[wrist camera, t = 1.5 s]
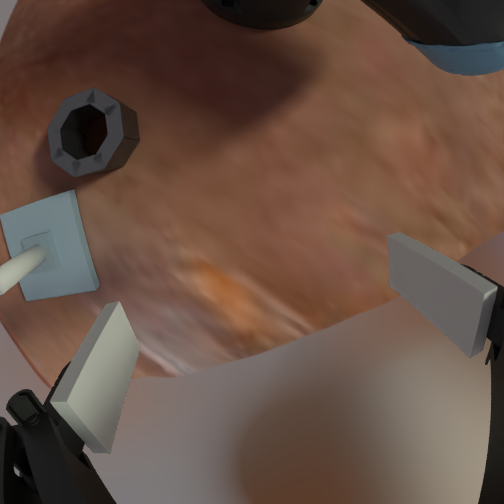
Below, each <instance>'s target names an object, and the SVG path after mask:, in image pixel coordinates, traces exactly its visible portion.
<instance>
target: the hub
mask: <svg viewBox="0 0 504 504" xmlns="http://www.w3.org/2000/svg"><path fill="white" fill-rule="evenodd" d="M103 114H105V116H106V124H107V132H108V135H107V137H106V139H105V140H104V142H103V144H102V145H101V147H100V148H99V150H98V152H97V154H96V155H93V154H91V153H90V152H88V151H87V149H86V142H85V134H84V133H85V131H86V130H87V128H88V126H89V125H90V123H91V121H92V120H93V118H94V117H97V116H100V115H103ZM47 131H48V140H49V148H50V156H51V160H52V162H54V163H55V164H56V165H58V166H59V167H60V168H62V169H63V170H65V171H66V172H67V173H69V174H70V175H71V176H73V177H80V176H85V175H91V174H97V173H101V172H105V171H108V170H112V169H115V168H119V167H123V166H124V165H125V163H126V162H127V160H128V158H129V157H130V155H131V154H132V152H133V151H134V149H135V148H136V146H137V145H138V143H139V142H140V141H139V140H140V137H139V130H138V123H137V116H136V112H135V111H133V110H132V109H130V108H129V107H127V106H125V105H124V104H122V103H121V102H119V101H117V100H116V99H114V98H112V97H111V96H109V95H107V94H105V93H104V92H102V91H100V90H98V89H96V88H91V89H88V90H86V91H83V92H80V93H78V94H75V95H72V96H70V97H67V98H65V99H64V100H63V102H62V104H61V105H60V107H59V109H58V110H57V112H56V114H55V116H54V117H53V119H52V121H51V123H50V124H49V126H48V129H47Z"/></svg>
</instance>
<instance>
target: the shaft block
mask: <svg viewBox="0 0 504 504" xmlns="http://www.w3.org/2000/svg"><path fill="white" fill-rule="evenodd" d="M0 218H1V223H2V227H3V231H4V235H5V238H6V242H7V246H8V249H9V253H10V256H11V260H9V261H8V262H6V263H5V264H3V265H2V266H0V295H2V294H4V293H5V292H6V291H7V290H9V289H10V288H11V287H12V286H14V285H15V284H16V283H17V282H19V283H20V286H21V289H22V291H23V294H24V296H25V299H26V301H32V300H38V299H45V298H51V297H57V296H64V295H70V294H76V293H82V292H88V291H95V290H96V289H97V288H98V287H99V286H100V284H99V281H98V278H97V275H96V272H95V268H94V265H93V262H92V258H91V255H90V251H89V248H88V244H87V241H86V237H85V233H84V229H83V225H82V221H81V217H80V213H79V208H78V204H77V199H76V194H75V189H74V190H70V191H67V192H63V193H60V194H57V195H54V196H51V197H48V198H45V199H42V200H39V201H37V202H34V203H31V204H28V205H25V206H23V207H20V208H17V209H15V210H12V211H10V212H7V213H4V214H2V215H0Z"/></svg>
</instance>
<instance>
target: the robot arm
mask: <svg viewBox="0 0 504 504" xmlns="http://www.w3.org/2000/svg"><path fill="white" fill-rule="evenodd" d="M322 1H323V0H203V2H204V3H205V4H206V5H207V7H208V8H209V9H211V10H212V11H213V12H214V13H216V14H217V15H218V16H220V17H222V18H224V19H226V20H228V21H230V22H232V23H235V24H238V25H242V26H246V27H251V28H258V29H277V28H284V27H289V26H292V25H295V24H298V23H300V22H302V21H304V20H306V19H307V18H309V17H310V16H311V15H312V14H313V13H314V12H315V11H316V9H317V8H318V7H319V6H320V4H321V3H322ZM361 1H362V2H363V3H365V4H366V5H367V6H368V7H370V8H371V9H372V10H374V11H375V12H376V13H377V14H379V15H380V16H381V17H382V18H383V19H385V20H386V21H387V22H388V23H389V24H390V25H392V26H393V27H394V28H395V29H396V30H397V31H398V32H399V33H401V34H402V37H403V39H404V40H405V41H406V42H408V43H409V44H411V45H413V46H415V47H416V48H417V49H418V50H419V51H420V52H421V53H422V54H423V55H424V56H426V57H427V58H428V59H429V60H430V61H431V62H432V63H433V64H434V65H435V66H437V67H438V68H440V69H442V70H444V71H446V72H449V73H453V74H460V75H465V76H474V75H483V74H489V73H493V72H497V71H500V70H503V69H504V0H361ZM388 252H389V286H391V287H392V288H393V289H394V290H395V291H396V292H398V293H399V294H400V295H401V296H402V297H403V298H404V299H406V300H407V301H408V302H409V303H410V304H411V305H413V306H414V307H415V308H416V309H417V310H418V311H419V312H420V313H422V314H423V315H424V316H425V317H426V318H427V319H428V320H429V321H430V322H432V323H433V324H434V325H435V326H436V327H437V328H438V329H439V330H440V331H441V332H442V333H443V334H445V335H446V336H447V337H448V338H449V339H450V340H451V341H452V342H453V343H454V344H455V345H456V346H457V347H459V349H460V350H462V351H463V352H464V353H465V354H466V355H467V356H468V357H469V358H471V357H472V356H474V355H476V354H477V353H479V352H481V351H482V350H483V347H484V344H485V340H486V337H487V338H488V339H489V340H491V341H492V342H491V346H490V349H489V352H488V355H487V358H486V362H485V365H487V364H488V361H489V360H490V362H491V421H490V435H489V444H488V453H487V460H486V467H485V474H484V479H483V484H482V489H481V493H480V498H479V502H478V504H504V287H503V286H501V285H499V284H498V283H496V282H495V281H493V280H491V279H490V278H488V277H486V276H483V274H481V273H479V272H477V271H476V270H474V269H473V268H471V267H469V266H466V265H462V264H459V263H457V262H455V261H453V260H452V259H450V258H448V257H446V256H444V255H443V254H441V253H439V252H437V251H435V250H433V249H432V248H430V247H428V246H426V245H424V244H422V243H420V242H418V241H416V240H415V239H413V238H411V237H409V236H407V235H405V234H403V233H401V232H399V233H395V234H391V235H388ZM140 348H141V347H140V345H139V343H138V341H137V339H136V337H135V334H134V332H133V330H132V328H131V326H130V324H129V321H128V319H127V317H126V315H125V313H124V310H123V308H122V306H121V303H120V301H117V302H113V303H108V304H106V305H105V307H104V308H103V310H102V311H101V313H100V314H99V316H98V318H97V319H96V321H95V322H94V324H93V326H92V327H91V329H90V331H89V332H88V334H87V335H86V337H85V339H84V340H83V342H82V344H81V345H80V347H79V349H78V351H77V352H76V354H75V356H74V358H73V359H72V361H70V362H69V363H68V364H67V365H66V366H65V367H64V368H63V369H62V371H61V373H60V375H59V376H58V379H57V380H56V382H55V384H54V385H55V386H53V387H52V389H51V391H50V393H49V395H48V397H47V399H46V401H45V402H44V404H43V405H42V404H41V403H40V401H39V400H38V398H37V397H36V396H35V394H34V393H33V392H32V390H29V389H24V390H21V391H19V392H17V393H16V394H15V395H13V396H12V397H11V398H10V400H9V401H8V403H7V406H6V410H7V411H8V412H9V414H10V415H11V416H12V417H13V418H14V420H15V421H16V422H17V423H18V425H14V426H11V425H10V424H9V422H7V420H6V419H5V418H4V417H0V504H116V502H115V501H114V499H113V498H112V496H111V495H110V493H109V492H108V490H107V488H106V487H105V485H104V484H103V482H102V480H101V479H100V477H99V476H98V474H97V472H96V470H95V469H94V467H93V465H92V464H91V462H90V460H89V458H88V456H87V455H86V454H85V453H84V452H83V451H82V450H83V447H84V444H86V445H87V446H88V447H89V448H90V449H91V450H92V452H93V453H111V448H112V444H113V441H114V437H115V433H116V429H117V425H118V421H119V418H120V414H121V411H122V407H123V404H124V400H125V397H126V393H127V390H128V386H129V383H130V380H131V377H132V373H133V370H134V367H135V364H136V361H137V358H138V355H139V351H140ZM14 467H15V468H16V469H18V470H19V471H20V476H17V475H16V474H15V472H14Z"/></svg>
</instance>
